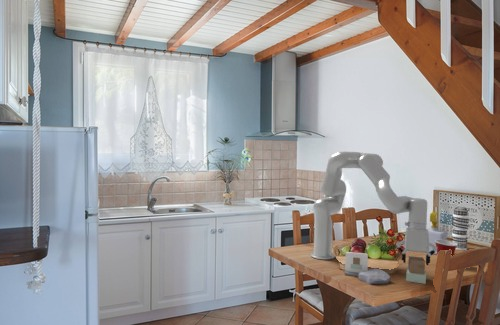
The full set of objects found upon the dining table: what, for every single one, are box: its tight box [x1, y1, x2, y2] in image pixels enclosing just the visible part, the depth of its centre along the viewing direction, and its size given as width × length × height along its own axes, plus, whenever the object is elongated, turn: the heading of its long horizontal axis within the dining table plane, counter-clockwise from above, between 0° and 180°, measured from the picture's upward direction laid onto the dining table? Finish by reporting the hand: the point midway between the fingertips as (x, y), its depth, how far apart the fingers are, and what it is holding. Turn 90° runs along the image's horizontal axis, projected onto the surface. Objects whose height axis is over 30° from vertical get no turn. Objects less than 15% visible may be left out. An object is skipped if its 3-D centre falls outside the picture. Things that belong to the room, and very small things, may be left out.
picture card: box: [344, 251, 369, 277], centre depth 184 cm, size 6×10×10 cm, turn 74°
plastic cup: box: [435, 239, 458, 257], centre depth 203 cm, size 11×11×12 cm
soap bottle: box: [426, 211, 448, 256], centre depth 226 cm, size 12×7×23 cm, turn 37°
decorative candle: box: [451, 206, 469, 251], centre depth 238 cm, size 9×9×25 cm
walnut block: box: [407, 255, 426, 274], centre depth 178 cm, size 6×6×6 cm
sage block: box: [405, 267, 427, 285], centre depth 178 cm, size 8×8×4 cm
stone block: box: [357, 268, 391, 285], centre depth 175 cm, size 12×5×10 cm
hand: (415, 263), depth 178 cm, fingers open, 9 cm apart
